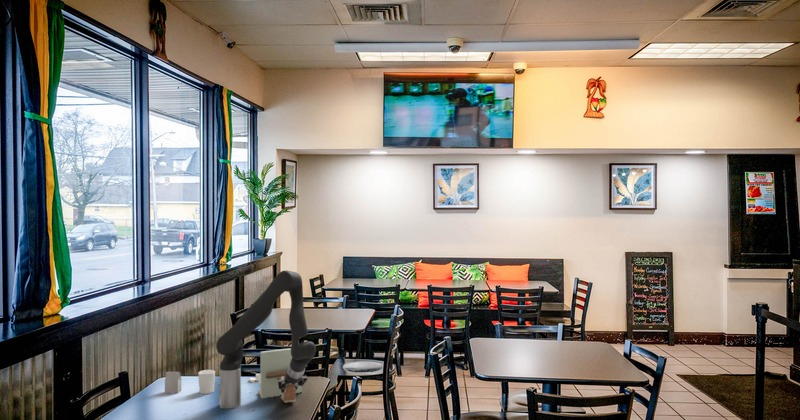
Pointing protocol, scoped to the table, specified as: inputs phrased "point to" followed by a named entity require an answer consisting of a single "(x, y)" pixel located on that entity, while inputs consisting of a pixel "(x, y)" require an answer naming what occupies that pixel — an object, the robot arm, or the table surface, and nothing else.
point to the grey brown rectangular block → (172, 382)
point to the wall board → (274, 371)
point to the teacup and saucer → (258, 378)
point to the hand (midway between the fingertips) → (288, 390)
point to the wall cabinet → (288, 393)
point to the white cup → (206, 381)
